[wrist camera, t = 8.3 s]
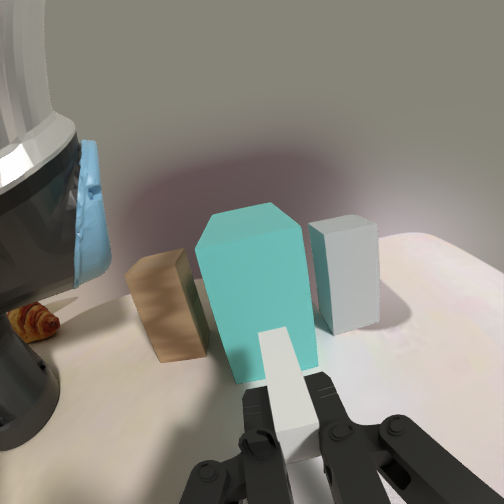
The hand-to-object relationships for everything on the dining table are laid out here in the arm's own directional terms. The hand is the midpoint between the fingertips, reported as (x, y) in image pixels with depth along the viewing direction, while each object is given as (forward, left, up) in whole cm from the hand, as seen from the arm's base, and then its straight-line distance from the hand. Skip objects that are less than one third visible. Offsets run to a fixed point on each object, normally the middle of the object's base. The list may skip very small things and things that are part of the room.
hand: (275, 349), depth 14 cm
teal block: (0, +13, -7) cm, 14 cm away
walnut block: (-9, +12, -7) cm, 17 cm away
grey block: (+8, +11, -7) cm, 15 cm away
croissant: (-42, +21, -7) cm, 48 cm away
